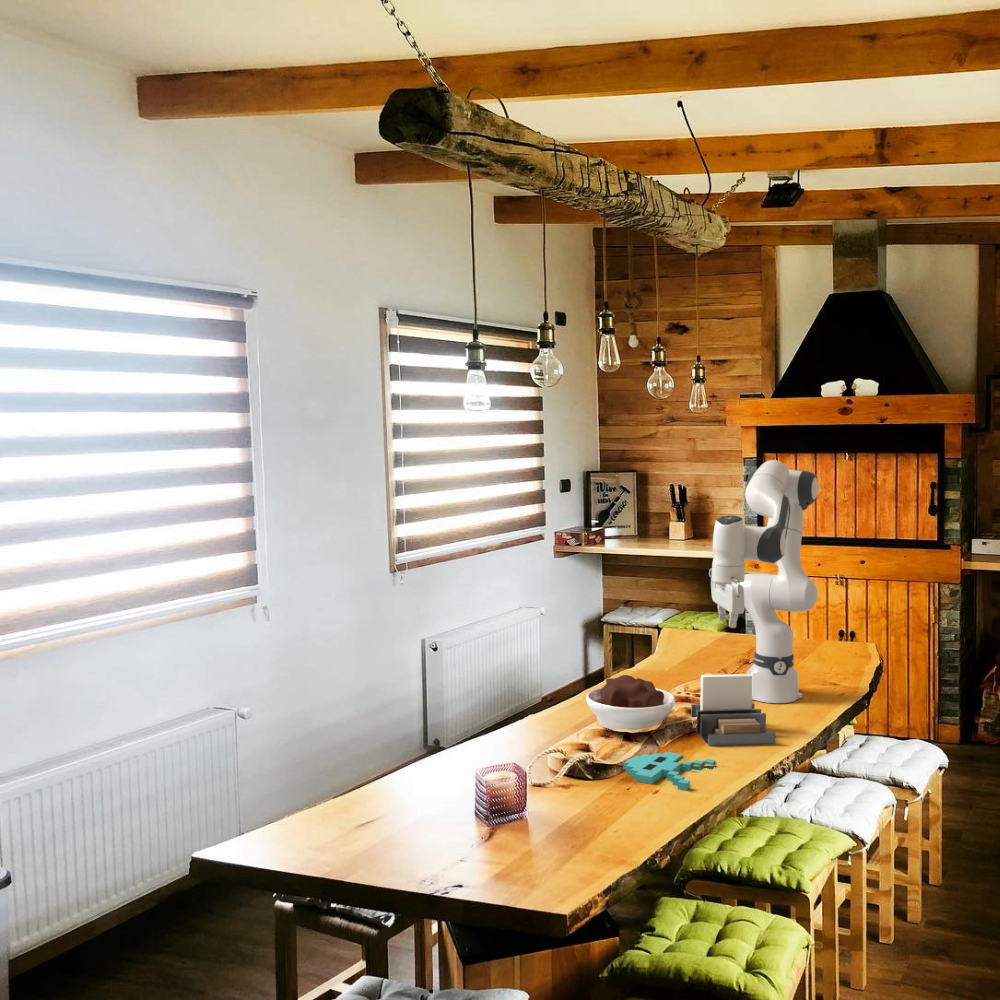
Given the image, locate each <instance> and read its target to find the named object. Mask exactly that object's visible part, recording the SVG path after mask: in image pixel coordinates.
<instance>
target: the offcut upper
mask: <svg viewBox="0 0 1000 1000" xmlns="http://www.w3.org/2000/svg"><path fill="white" fill-rule="evenodd" d="M718 729H719V730H720V731H721V732H722V733H760V723H759V722H757V721H756V720H755V719H723V720H719V724H718Z"/></svg>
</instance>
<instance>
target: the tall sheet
mask: <svg viewBox="0 0 1000 1000" xmlns="http://www.w3.org/2000/svg"><path fill="white" fill-rule="evenodd" d="M699 699H700V700H699V701H700V703H699V704H700V710H730V709H752V703H753V700H752V675H750V674H747V673H739V674H738V673H735V674H733V673H732V674H731V673H730V674H729V673H728V674H700V698H699Z"/></svg>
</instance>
